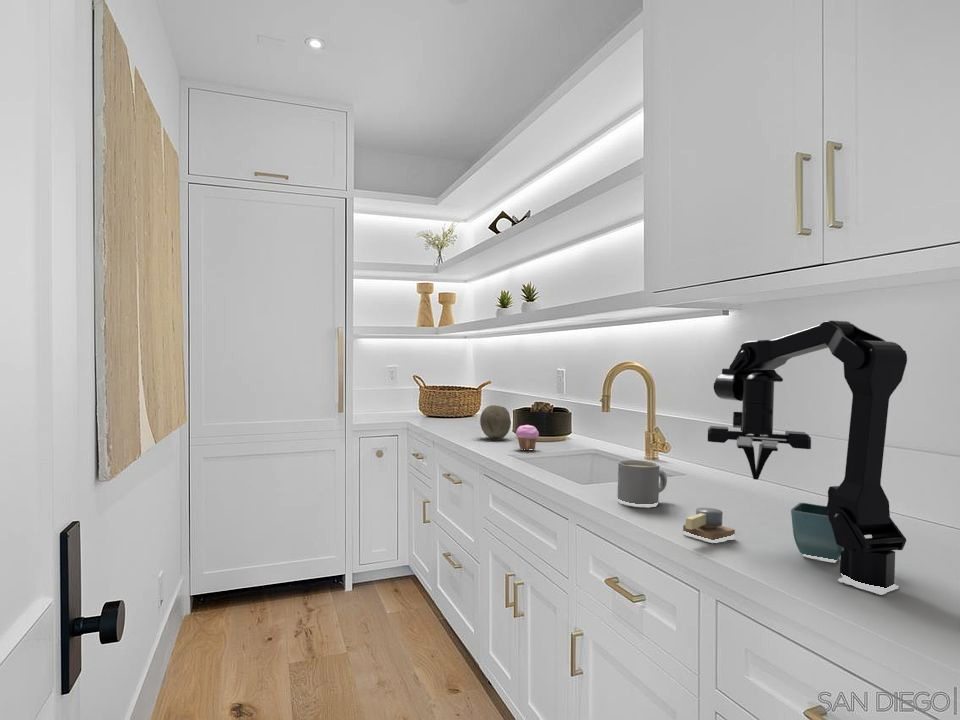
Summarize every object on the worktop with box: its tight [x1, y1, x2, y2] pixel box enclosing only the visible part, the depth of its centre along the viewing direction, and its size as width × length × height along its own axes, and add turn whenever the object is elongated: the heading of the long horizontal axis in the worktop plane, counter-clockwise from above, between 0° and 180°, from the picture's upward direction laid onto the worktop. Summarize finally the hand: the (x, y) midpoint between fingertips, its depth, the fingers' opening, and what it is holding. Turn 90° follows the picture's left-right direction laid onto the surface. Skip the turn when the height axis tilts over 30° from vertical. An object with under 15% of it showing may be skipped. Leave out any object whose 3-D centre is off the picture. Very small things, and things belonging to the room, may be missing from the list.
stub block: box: [682, 524, 736, 540], centre depth 117 cm, size 7×7×3 cm
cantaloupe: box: [479, 405, 512, 441], centre depth 252 cm, size 14×14×15 cm
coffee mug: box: [616, 459, 668, 504], centre depth 144 cm, size 13×10×10 cm
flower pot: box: [790, 502, 844, 561], centre depth 106 cm, size 9×9×9 cm
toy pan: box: [685, 507, 723, 530], centre depth 115 cm, size 11×5×2 cm, turn 132°
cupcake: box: [515, 424, 540, 451], centre depth 224 cm, size 9×9×10 cm
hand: (755, 479), depth 117 cm, fingers closed
